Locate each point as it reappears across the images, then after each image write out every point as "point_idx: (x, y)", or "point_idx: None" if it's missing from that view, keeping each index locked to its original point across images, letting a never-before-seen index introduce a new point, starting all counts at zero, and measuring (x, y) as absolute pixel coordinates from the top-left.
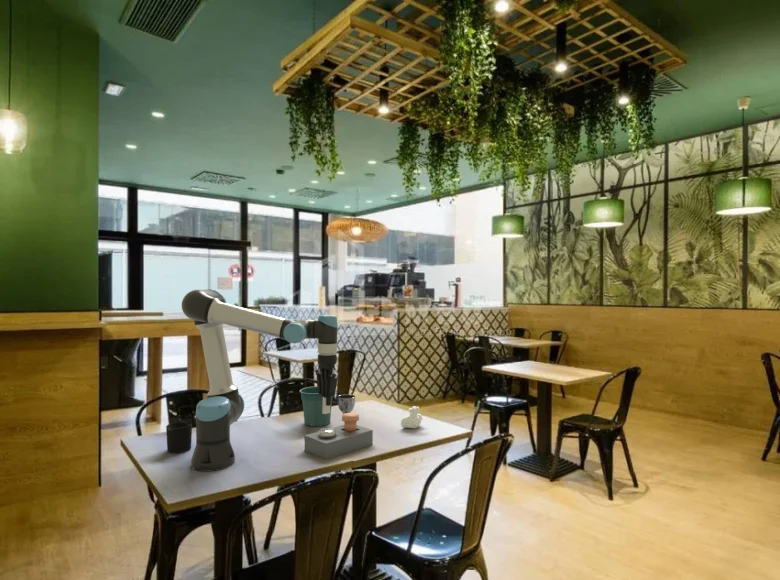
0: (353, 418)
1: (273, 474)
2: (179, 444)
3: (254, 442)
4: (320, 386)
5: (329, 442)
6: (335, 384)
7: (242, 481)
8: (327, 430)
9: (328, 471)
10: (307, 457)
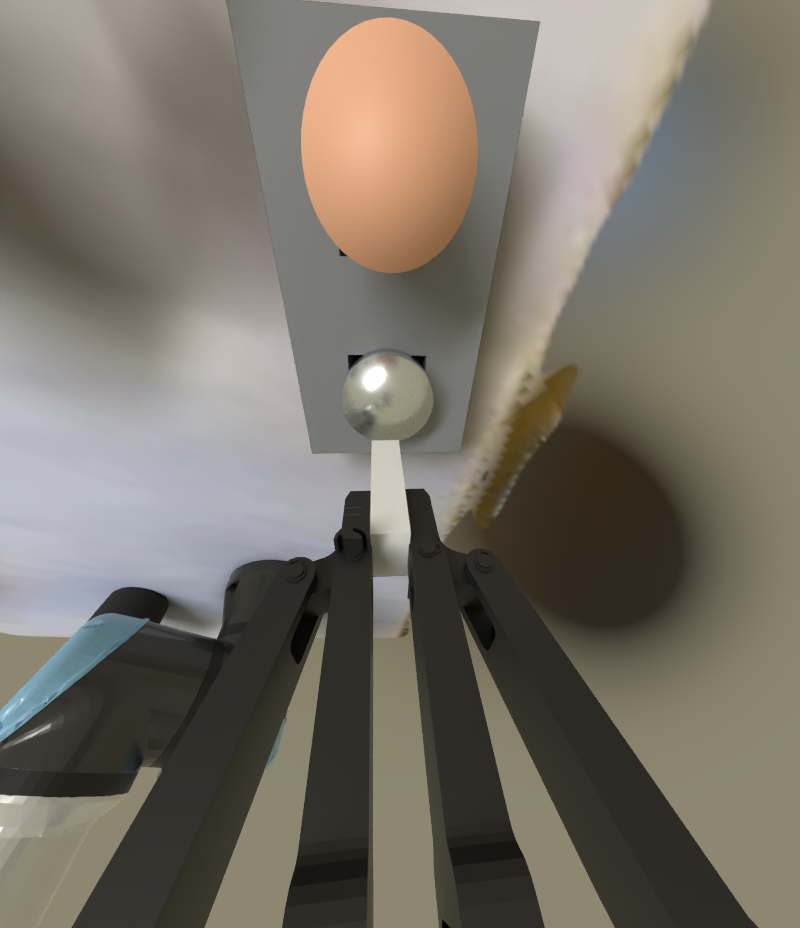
0: (463, 212)
1: None
2: (158, 623)
3: (146, 488)
4: (293, 685)
5: (462, 437)
6: (604, 735)
7: (404, 580)
8: (386, 401)
9: (517, 466)
10: None
